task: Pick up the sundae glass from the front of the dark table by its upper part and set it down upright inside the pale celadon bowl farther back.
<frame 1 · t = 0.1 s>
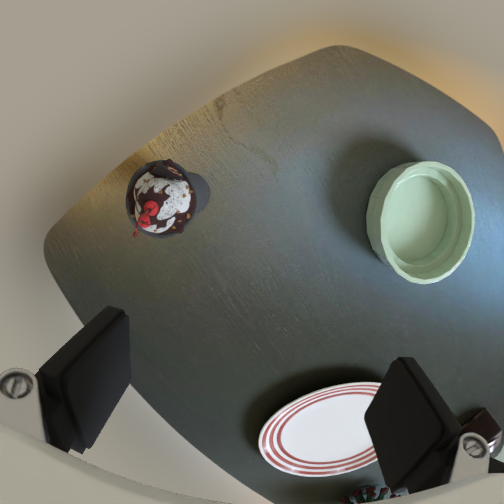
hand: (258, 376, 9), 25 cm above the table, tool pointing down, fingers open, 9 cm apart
virus model: (360, 491, 49), on the table
bowl: (413, 218, 32), on the table
dinner plate: (336, 427, 41), on the table
sundae: (190, 194, 33), on the table
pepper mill: (462, 432, 43), on the table
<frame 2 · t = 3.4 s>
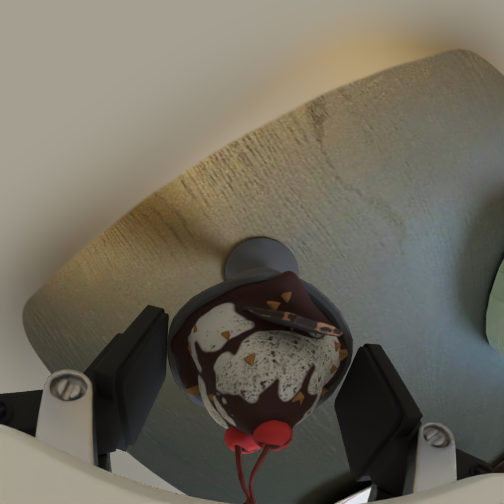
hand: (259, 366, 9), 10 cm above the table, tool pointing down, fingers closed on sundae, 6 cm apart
dinner plate: (392, 492, 28), on the table
sundae: (261, 273, 19), on the table, touching gripper
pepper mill: (496, 467, 30), on the table
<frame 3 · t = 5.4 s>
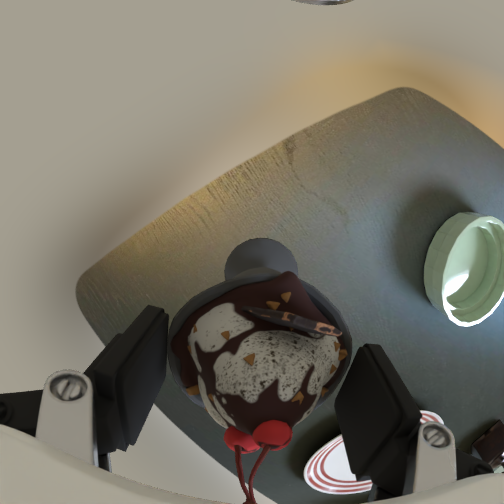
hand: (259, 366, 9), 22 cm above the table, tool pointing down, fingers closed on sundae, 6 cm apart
bowl: (461, 263, 31), on the table
dinner plate: (373, 449, 39), on the table
sundae: (261, 273, 19), point 12 cm above the table, touching gripper
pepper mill: (479, 443, 41), on the table
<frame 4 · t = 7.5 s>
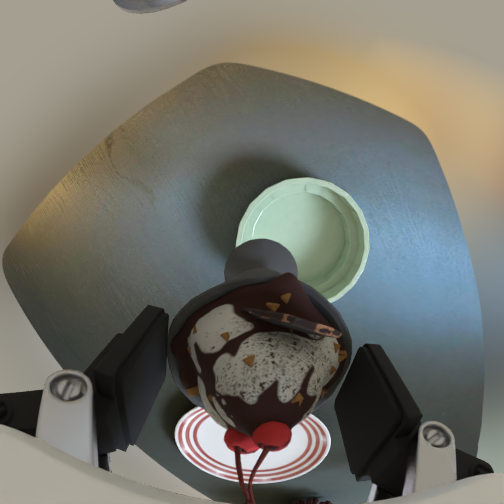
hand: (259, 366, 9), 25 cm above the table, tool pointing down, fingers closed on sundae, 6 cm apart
virus model: (305, 501, 50), on the table
bowl: (299, 237, 34), on the table
dinner plate: (252, 438, 43), on the table
sundae: (261, 274, 19), point 15 cm above the table, touching gripper
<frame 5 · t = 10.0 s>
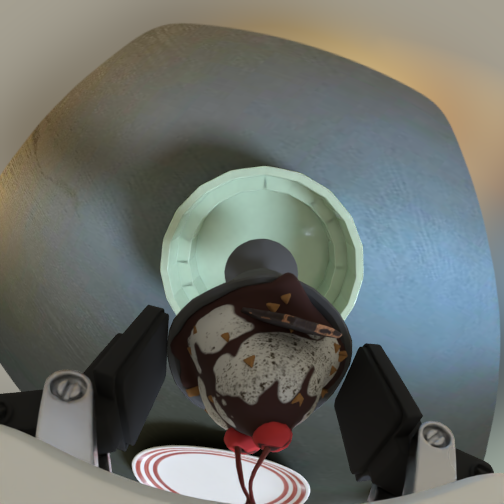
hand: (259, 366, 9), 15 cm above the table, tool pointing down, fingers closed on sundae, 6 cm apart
bowl: (262, 255, 24), on the table
dinner plate: (220, 478, 33), on the table
sundae: (261, 274, 19), point 5 cm above the table, touching gripper
when the fingers open (11 cm above the table, at t = 11.7 s): sundae stays where it is, resting on bowl.
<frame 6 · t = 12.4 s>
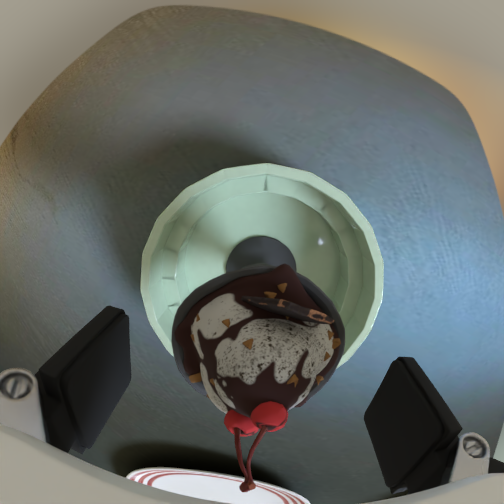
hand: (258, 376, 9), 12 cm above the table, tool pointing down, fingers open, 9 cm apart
bowl: (262, 269, 20), on the table
dinner plate: (218, 496, 30), on the table
sundae: (261, 270, 20), resting on bowl
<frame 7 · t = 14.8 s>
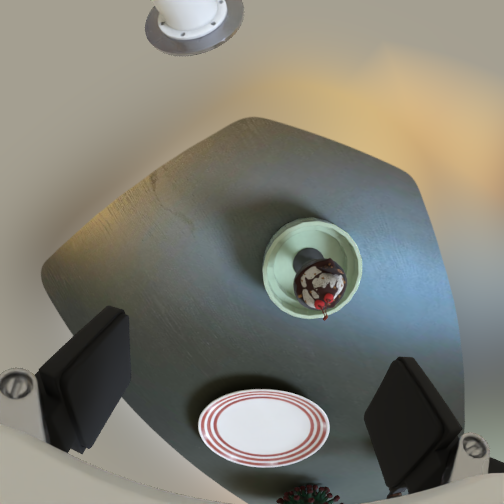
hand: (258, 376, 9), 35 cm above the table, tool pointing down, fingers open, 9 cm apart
virus model: (305, 488, 59), on the table
bowl: (308, 263, 44), on the table
dinner plate: (263, 425, 52), on the table
sundae: (308, 263, 43), resting on bowl
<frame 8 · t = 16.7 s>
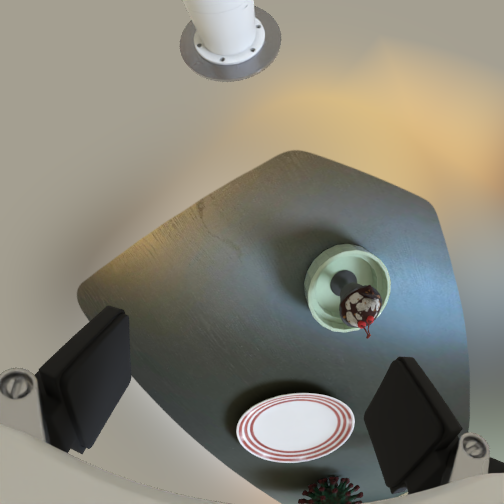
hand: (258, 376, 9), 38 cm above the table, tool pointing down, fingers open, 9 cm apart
virus model: (327, 480, 65), on the table
bowl: (343, 282, 48), on the table
dinner plate: (295, 424, 57), on the table
sundae: (343, 283, 48), resting on bowl
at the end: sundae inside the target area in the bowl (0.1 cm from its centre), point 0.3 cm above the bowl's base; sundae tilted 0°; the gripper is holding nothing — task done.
